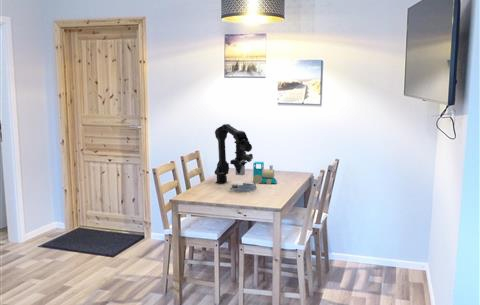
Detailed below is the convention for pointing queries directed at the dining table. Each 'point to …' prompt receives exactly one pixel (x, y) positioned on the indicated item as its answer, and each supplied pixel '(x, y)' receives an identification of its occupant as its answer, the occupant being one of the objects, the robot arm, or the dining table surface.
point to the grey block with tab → (241, 170)
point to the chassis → (244, 187)
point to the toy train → (263, 174)
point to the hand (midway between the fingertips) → (240, 172)
